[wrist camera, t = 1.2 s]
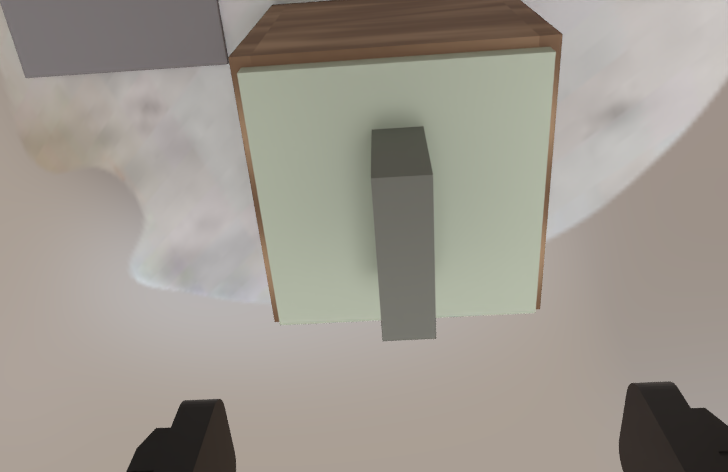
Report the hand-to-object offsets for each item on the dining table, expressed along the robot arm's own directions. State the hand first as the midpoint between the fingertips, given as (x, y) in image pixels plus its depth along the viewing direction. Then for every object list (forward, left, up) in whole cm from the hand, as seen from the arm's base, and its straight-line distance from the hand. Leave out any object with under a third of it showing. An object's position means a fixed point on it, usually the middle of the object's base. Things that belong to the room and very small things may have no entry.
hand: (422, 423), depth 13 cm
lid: (+4, 0, -21) cm, 21 cm away
